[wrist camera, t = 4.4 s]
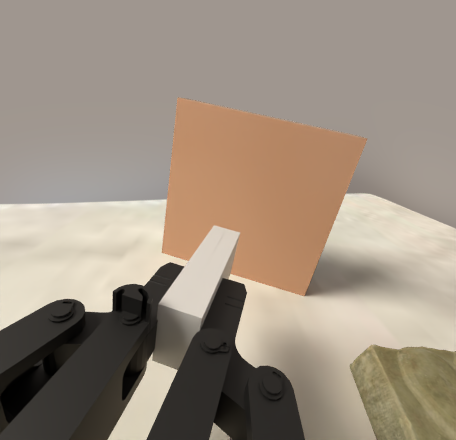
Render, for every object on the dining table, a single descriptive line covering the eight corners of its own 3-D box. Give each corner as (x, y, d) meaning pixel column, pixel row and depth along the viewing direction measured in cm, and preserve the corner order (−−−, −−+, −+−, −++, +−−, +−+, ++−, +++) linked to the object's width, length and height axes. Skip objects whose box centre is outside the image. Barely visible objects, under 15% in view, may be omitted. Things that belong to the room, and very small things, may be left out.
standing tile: (303, 279, 26) (358, 135, 20) (304, 296, 24) (367, 138, 18) (173, 240, 28) (190, 99, 22) (161, 252, 26) (177, 97, 20)
